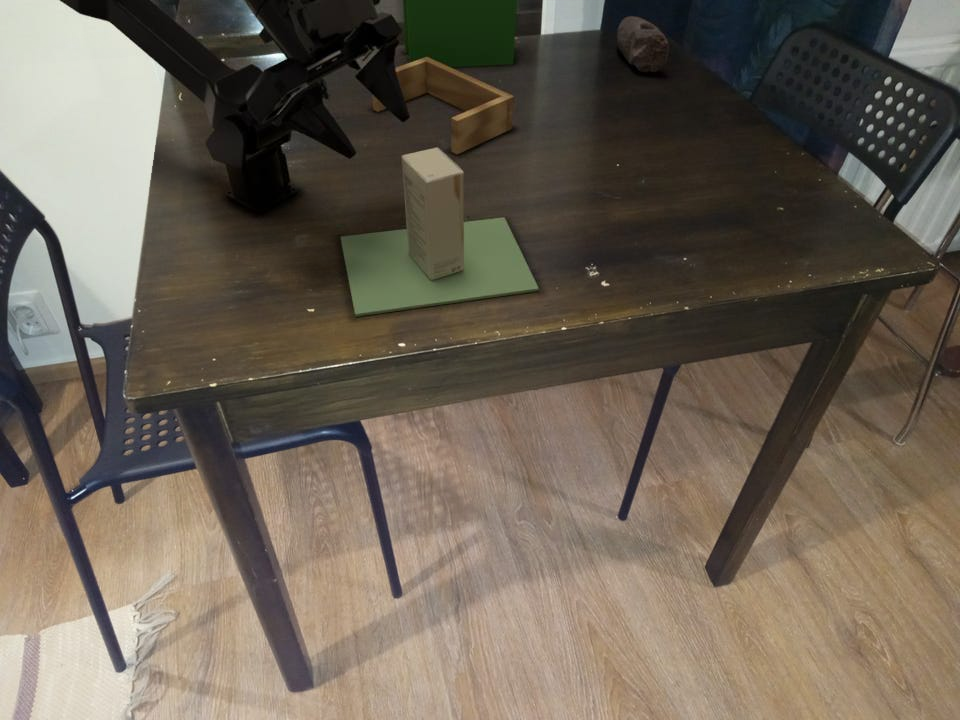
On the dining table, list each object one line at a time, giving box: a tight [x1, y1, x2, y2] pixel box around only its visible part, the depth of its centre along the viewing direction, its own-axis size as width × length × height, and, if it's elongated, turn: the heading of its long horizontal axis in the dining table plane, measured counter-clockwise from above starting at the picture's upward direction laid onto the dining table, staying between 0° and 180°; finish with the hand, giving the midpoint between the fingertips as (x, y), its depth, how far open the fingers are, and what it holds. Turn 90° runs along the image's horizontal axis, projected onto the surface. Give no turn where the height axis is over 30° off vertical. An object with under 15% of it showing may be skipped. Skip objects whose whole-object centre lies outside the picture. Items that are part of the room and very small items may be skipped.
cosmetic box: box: [401, 146, 465, 280], centre depth 74 cm, size 6×4×12 cm
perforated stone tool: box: [616, 15, 670, 73], centre depth 118 cm, size 15×5×7 cm, turn 12°
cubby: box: [371, 57, 515, 155], centre depth 102 cm, size 11×18×5 cm, turn 45°
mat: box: [340, 216, 540, 318], centre depth 79 cm, size 20×14×1 cm
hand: (381, 137), depth 72 cm, fingers open, 9 cm apart
